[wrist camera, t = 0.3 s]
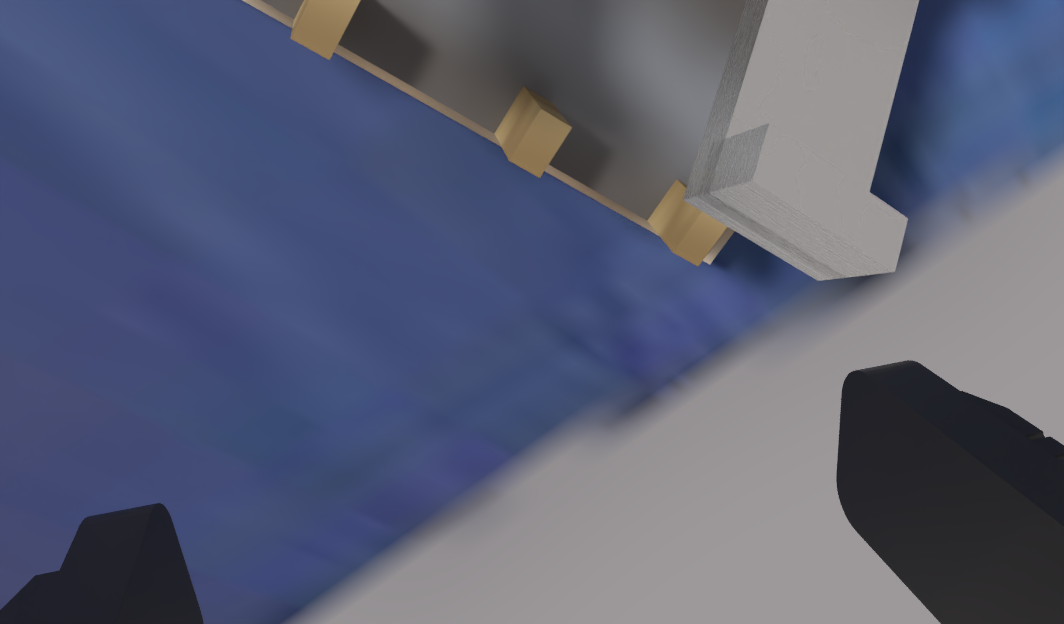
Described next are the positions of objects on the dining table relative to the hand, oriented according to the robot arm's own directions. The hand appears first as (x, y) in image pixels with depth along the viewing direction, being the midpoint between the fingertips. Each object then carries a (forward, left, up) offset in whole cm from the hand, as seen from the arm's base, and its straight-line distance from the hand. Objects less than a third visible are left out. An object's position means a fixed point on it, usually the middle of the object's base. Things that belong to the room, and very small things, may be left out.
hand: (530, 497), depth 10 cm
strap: (-9, +6, -12) cm, 16 cm away
